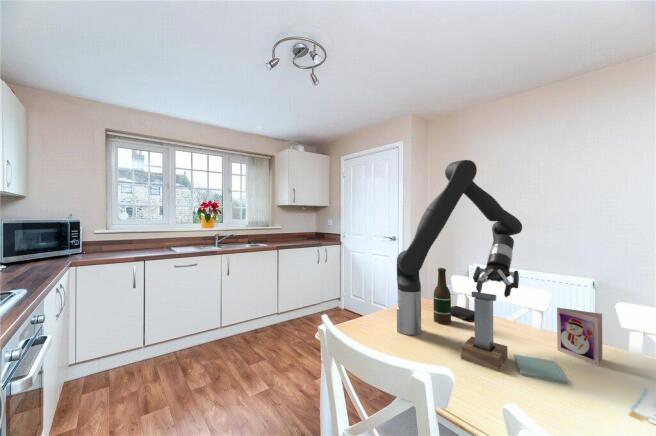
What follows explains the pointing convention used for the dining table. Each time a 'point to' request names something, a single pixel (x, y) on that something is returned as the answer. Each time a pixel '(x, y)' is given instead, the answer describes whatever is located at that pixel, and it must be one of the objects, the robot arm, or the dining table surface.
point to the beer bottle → (442, 299)
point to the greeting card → (580, 334)
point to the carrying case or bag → (463, 313)
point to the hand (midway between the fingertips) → (492, 293)
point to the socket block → (484, 355)
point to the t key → (483, 320)
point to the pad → (539, 368)
